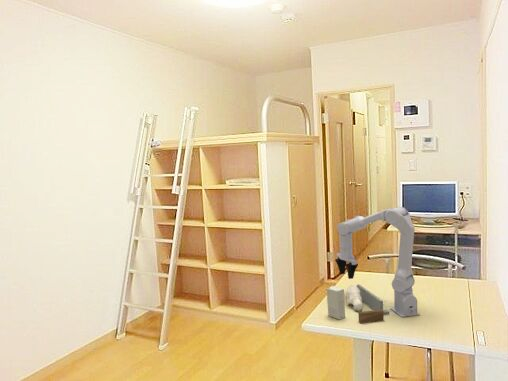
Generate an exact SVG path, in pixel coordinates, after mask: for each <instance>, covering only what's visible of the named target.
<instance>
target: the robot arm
mask: <svg viewBox="0 0 508 381" xmlns="http://www.w3.org/2000/svg"><path fill="white" fill-rule="evenodd" d="M377 221H383V222H386V223H387V224H389V225H391V226H392V227H394V228H395V229H397V230H398V231H399V232H400V235H399V236H400V237H399V248H398V257H397V258H398V260H397V269H396V271H395V273H394V278H393V279H392V282H391V286H392V289H393V290H394V294H393V295H394V297H393V298H394V306H393V307H392V306H391V307H390V308H389V309H390V310H392V311H393V312H394V313H396V314H397V315H399V316H400V317H401V318H403V317H405V318H406V317H407V318H408V317H413V316H420V313H419V312H418V298H417V297H416V296H415V295H414V292H413V286H415V283H416V282H415V278H414V271H413V270H412V261H413V251H414V249H413V248H414V242H415V240H414V239H415V238H414V237H415V225H414V224H413V221H412V219H411V214H410V212H409V211H408V210H407V209H406V208H405V207H403V206H397V207H395V208H394V207H393V208H387V209H383V210H380V211H377V212H375V213H372V214H370V215H367V216H362V215H355V216H354V217H353V218H352V219H350V218H349V219H346V221H343V222H340V223H338V225H337V227H336V231H337V233H338V235H339V236H338V237H339V253H336V258H335V259H334V261H335V263H336V265H337V267H338V271H339V274H340V275H345V274H346V271H347V278H348V279H349V280H350V279H351V280H352V279H354V277H355V272H356V270H357V268H358V267H359V264H358V263H357V259H356V258H355V257H356V255H355V256H354V255H353V233H355V232H357V231H361V230H363V229H366V228H367V226H368V224H370V223H375V222H377Z"/></svg>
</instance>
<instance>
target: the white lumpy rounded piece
mask: <svg viewBox="0 0 508 381" xmlns="http://www.w3.org/2000/svg"><path fill="white" fill-rule="evenodd" d="M344 293H345V296H346V302H347V303H346V306H350V305H353V309H354V311H357V312H361V310H362V309H363V308H364V306H363V305H364V304H363V301H362V297H361V296H360V290H359V289H358V287H357V285H353V284H352V285H349V286H348V287H346V289H345V290H344Z"/></svg>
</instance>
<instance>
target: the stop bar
mask: <svg viewBox="0 0 508 381" xmlns="http://www.w3.org/2000/svg"><path fill="white" fill-rule="evenodd" d="M383 310H384V309H383ZM383 310H382V309H381V310H373V309H372V310H368V311H367V310H366V311H357V312H358V323H359V324H368V323H375V322H382V321H384V315H383Z"/></svg>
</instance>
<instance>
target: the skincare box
mask: <svg viewBox="0 0 508 381" xmlns="http://www.w3.org/2000/svg"><path fill="white" fill-rule="evenodd" d="M326 301H327V302H326V303H327V316H329V317H332V318H334V319H336V320H342V319H344V318H346V309H345V308H346V307H345V289H344V288H341V287H337V286H334V285H332V286H329V287H327V288H326Z"/></svg>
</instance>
